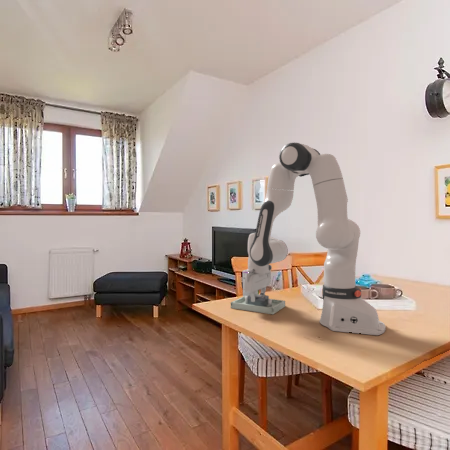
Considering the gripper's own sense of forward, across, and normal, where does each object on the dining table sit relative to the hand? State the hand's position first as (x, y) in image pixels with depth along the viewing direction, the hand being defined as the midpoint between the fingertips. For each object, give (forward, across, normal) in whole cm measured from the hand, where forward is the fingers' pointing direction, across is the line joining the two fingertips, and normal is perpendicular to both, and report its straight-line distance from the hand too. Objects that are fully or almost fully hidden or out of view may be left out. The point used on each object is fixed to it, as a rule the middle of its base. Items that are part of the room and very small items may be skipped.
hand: (258, 299), depth 145 cm
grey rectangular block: (+3, 0, 0) cm, 3 cm away
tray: (+4, 0, 0) cm, 4 cm away
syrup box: (+4, +11, +9) cm, 15 cm away
